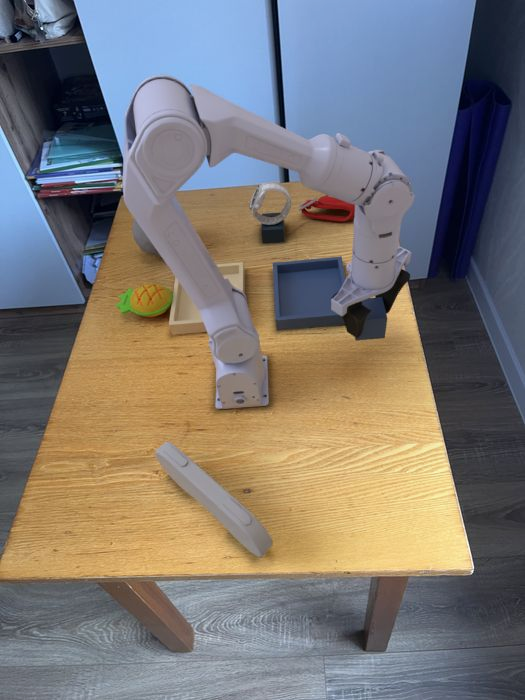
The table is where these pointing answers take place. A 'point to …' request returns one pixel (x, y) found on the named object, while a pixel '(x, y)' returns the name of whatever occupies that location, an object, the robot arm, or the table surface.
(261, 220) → the watch
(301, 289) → the blue tray
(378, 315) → the blue block
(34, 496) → the table surface
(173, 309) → the beige tray
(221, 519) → the game controller
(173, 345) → the table surface
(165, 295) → the toy pineapple
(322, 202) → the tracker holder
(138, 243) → the decorative ball
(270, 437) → the table surface
